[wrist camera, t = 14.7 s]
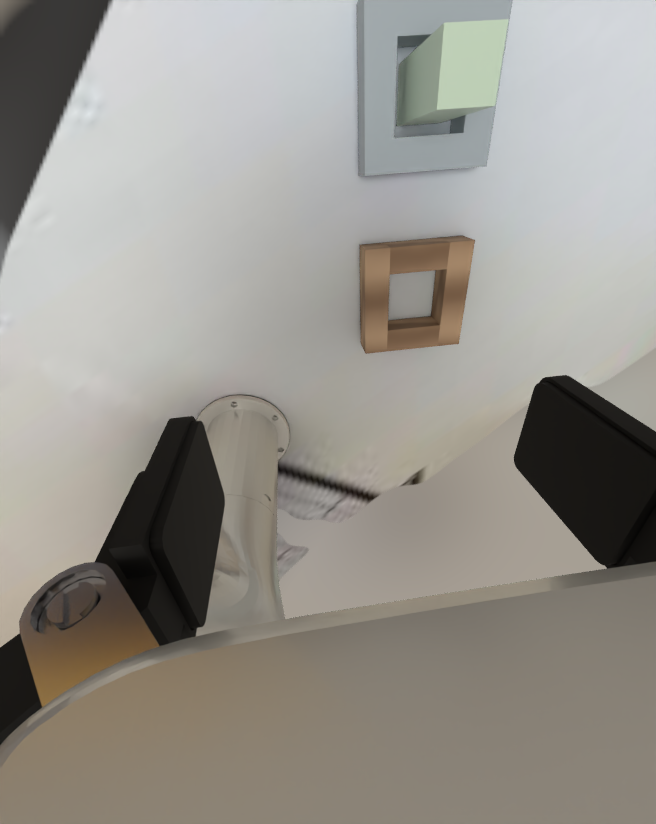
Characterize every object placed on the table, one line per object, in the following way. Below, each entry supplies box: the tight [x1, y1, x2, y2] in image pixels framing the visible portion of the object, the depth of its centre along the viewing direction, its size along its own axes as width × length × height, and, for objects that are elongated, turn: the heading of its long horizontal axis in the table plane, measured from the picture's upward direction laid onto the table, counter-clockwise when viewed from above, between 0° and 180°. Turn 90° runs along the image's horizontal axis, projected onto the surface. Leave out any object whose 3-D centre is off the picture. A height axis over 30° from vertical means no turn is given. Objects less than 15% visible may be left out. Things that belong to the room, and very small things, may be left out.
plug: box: [396, 19, 509, 126], centre depth 27 cm, size 4×4×10 cm
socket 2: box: [360, 236, 475, 353], centre depth 39 cm, size 11×11×3 cm
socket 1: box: [357, 0, 512, 176], centre depth 29 cm, size 11×11×3 cm
